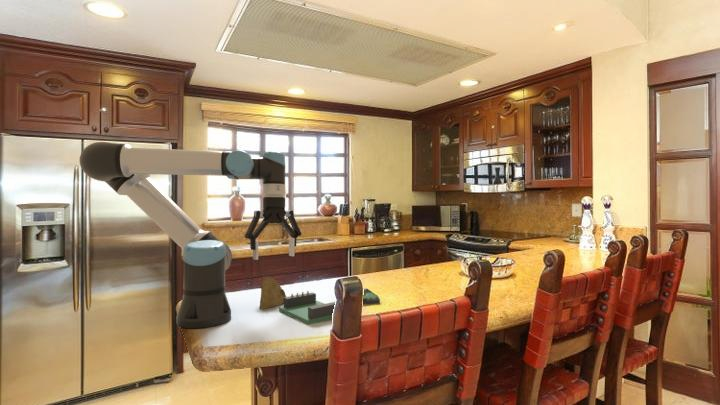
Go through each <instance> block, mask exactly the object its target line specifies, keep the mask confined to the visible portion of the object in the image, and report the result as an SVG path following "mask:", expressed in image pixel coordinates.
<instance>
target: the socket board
mask: <svg viewBox="0 0 720 405" xmlns="http://www.w3.org/2000/svg"><path fill="white" fill-rule="evenodd" d="M304 292H305V291H302V292H301V294H299V292H296V295H294V293H291V294H290V296H286V297H284V303H283V306H280V307H278V308H279V312H280V313H282V314H284V315H285V314H286V315H287V316H289V317H291V318H293V319H295V320H297V321H299V322H302V323H304V324H306V325H307V326H308V325H311V324H315V323H320V322H325V321H328V320H332V313H333V309H334V305H335V302H336V301H332V302H327V303H323V302H321V301H318V300H317V294H316V293H315V292H310V291H309V290H306V293H304Z"/></svg>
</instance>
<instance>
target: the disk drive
mask: <svg viewBox="0 0 720 405" xmlns="http://www.w3.org/2000/svg"><path fill="white" fill-rule="evenodd" d="M363 289H364V295H363V305H373V304H380V301H381V299H380V297H379V296H378V295H377V294H376V293H374V292H373V291H371V290H370V289H368V288H363ZM363 305H362V306H363Z"/></svg>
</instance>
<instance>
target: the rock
mask: <svg viewBox="0 0 720 405" xmlns="http://www.w3.org/2000/svg"><path fill="white" fill-rule="evenodd" d="M260 284H261V285H260V289H261V291H260V300H259V308H260V310H264V309H270V308H272V307H277V306H280V305H282V304H284V297H287V295H286V292H285V290H284V289H283V288H282V287H281V285H280V284H279V282H278V280H275V279H274V278H272V277H270V276H262V280H261V283H260Z"/></svg>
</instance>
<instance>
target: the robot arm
mask: <svg viewBox="0 0 720 405" xmlns="http://www.w3.org/2000/svg"><path fill="white" fill-rule="evenodd" d="M285 156H286V155H285V154H284V153H283V152H280V151H264V152H263V154H262V157H252V156H251V155H250V153H249V152H247V151H245V150H240V149H235V150H233V151H229V150H228V151H222V150H201V149H200V150H199V149H175V148H174V149H172V148H169V149H168V148H148V147H147V148H146V147H143V148H141V147H132V146H131V145H130V144H128V143H117V142H116V143H114V142H107V141H97V142H93V143H90V144H88V145H87V146H86V147H84V148H83V150H82V151H81V153H80V156H79V161H78V162H79V165H80V168H81V170H82V171H83V172H84V174H85V175H87V177H90V178H91V179H92V180H95V181H99V182H105V183H106V184H107V185H108V186H109V187H110V188H111V189H112V190H114V191H115V193H117V194H118V195H119V196H127V197H128V198H129V199H130V200H131V201H133V203H134V204H135V205H136V206H137V207H138V208H140V210H141V211H143V213H144V214H146V216H148V218H149V219H150V220H151V221H152V222H154V223H155V224H156V225H157V226H158V227H159V228H160V229H161V231H163V232H164V233H165V234H166V235H167V236H168V237H169V238H170V239H171V240H172V241H173V242H174V243H175V244H176V245H178V247H180V248H181V256H182V267H183V268H182V272H183V273H182V299H181V300H180V301H181V302H180V303H179V304H180V305H179V307H178V311H177V314H176V317H175V319H176V320H175V321H176V326H178V327H180V328H185V329H204V328H211V327H216V326H219V325H222V324H225V323H227V322H229V321H230V320H231V318H232V309H231V306H230V303H229V300H228V298H227V293H226V272H227V271H228V270H229V269H230V266H231V265H232V264H231V263H232V261H233V254H232V250H231V248H230V246H229V245H228V244H227V243H226V242H224V241H221V240H220V239H219V238H217V236H216V235H215V234H214V233H212V232H211V230H203V229H202V228H201V227H199V225H198V224H197V223H196V222H194V220H193V219H192V218H191V216H189V215H188V214H187V213H186V212H185V211H184V210H182V209H181V208H180V206H179V205H177V204H176V202H174V200H172V198H171V197H170V196H168V194H167V193H166V192H164V190H162V189H161V187H159V185H158V184H156V183H155V182H154V181H153V180H152V179H151V175H162V176H163V175H167V176H169V175H170V176H175V175H177V176H178V175H179V176H180V175H181V176H220V177H222V176H224V177H227V178H228V179H229V180H262V196H264V197H263V198H262V206H263V207H262V208H263V210H262V211H260V210H254V211H253V217H252V219H251V222H250V224H249V226H248V228H247V231H246V232H245V235H244V238H245V239H248V240H250V241H249V244H250V245H249V246H250V247H249V248H250V250H252V260H255V261H258V260H259V240H258V239H257V238H259V236H260V235H261V233H262V232H263V231H264V229H265V228H266V227H267V226H268V225H269V224H280V225H281V226H282V227H283V229H284V230H285V231H286V232H287V233H288V234H289V236H290V237H288V256H289V257H295V247H297V239H298V237H300V236H302V231H301V230H300V228H299V226H298V225H299V224H298V222H297V221H296V218H295V216H294V215H295V214H294V210H291V209H288V210H286V209H285V208H286V198H285V197H284V196H286V157H285ZM261 217H263V218H262V220H261V222H260V224H259V225H258V223H259V221H260V218H261ZM285 217H287V219H288V220H289V221H287V219H285ZM288 222H289V223H288ZM257 225H258V226H257Z"/></svg>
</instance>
